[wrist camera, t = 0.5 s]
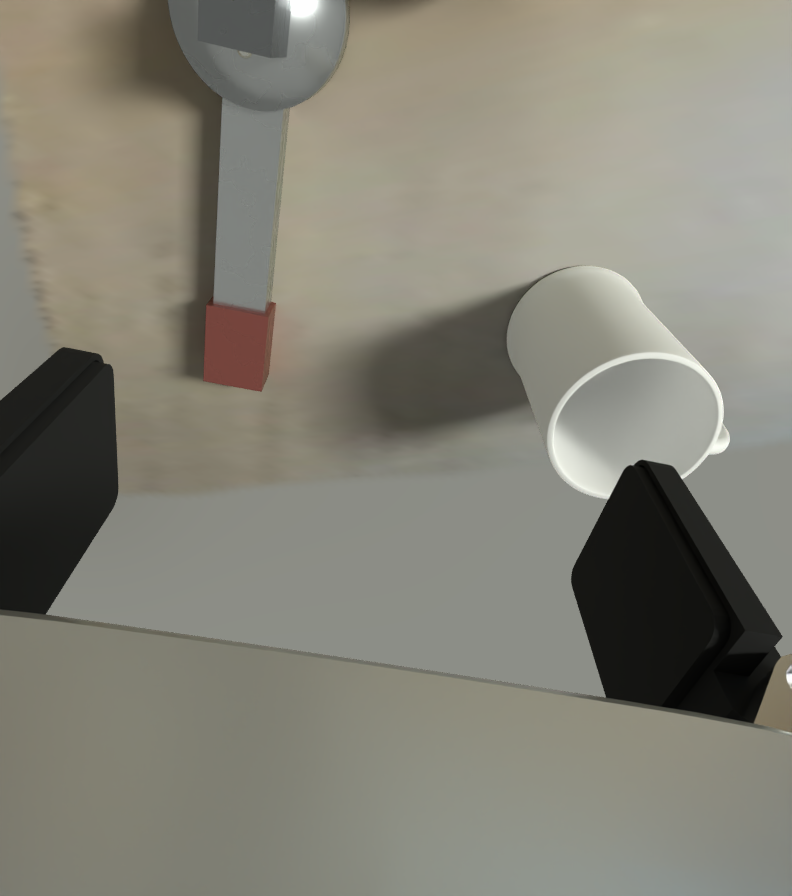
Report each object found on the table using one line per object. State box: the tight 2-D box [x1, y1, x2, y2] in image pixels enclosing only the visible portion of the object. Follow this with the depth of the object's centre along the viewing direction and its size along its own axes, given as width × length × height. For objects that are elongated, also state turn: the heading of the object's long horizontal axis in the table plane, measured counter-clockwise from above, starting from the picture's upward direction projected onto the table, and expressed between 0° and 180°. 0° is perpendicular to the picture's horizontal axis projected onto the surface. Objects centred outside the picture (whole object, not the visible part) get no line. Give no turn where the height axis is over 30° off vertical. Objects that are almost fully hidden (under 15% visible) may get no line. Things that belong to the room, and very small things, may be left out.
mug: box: [507, 266, 730, 499], centre depth 34 cm, size 12×8×12 cm
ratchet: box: [168, 0, 350, 392], centre depth 31 cm, size 24×8×6 cm, turn 168°
